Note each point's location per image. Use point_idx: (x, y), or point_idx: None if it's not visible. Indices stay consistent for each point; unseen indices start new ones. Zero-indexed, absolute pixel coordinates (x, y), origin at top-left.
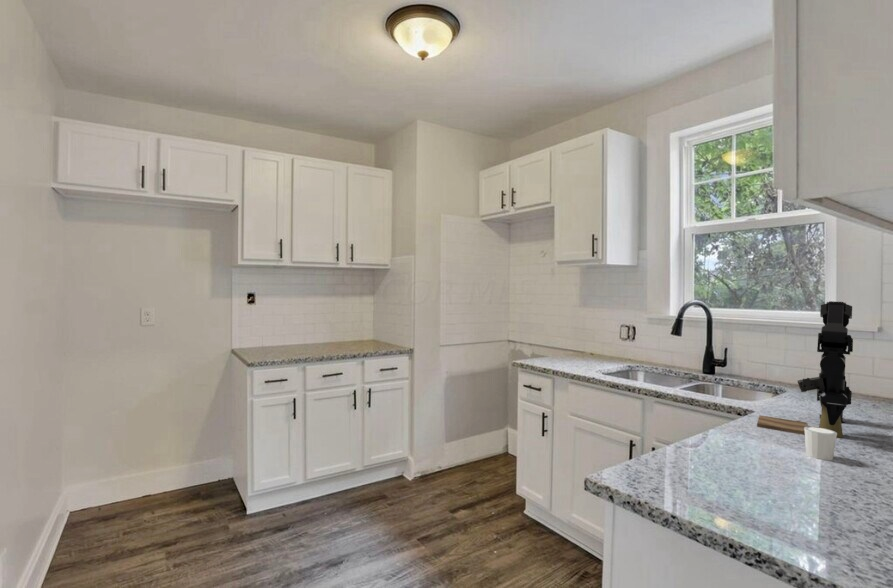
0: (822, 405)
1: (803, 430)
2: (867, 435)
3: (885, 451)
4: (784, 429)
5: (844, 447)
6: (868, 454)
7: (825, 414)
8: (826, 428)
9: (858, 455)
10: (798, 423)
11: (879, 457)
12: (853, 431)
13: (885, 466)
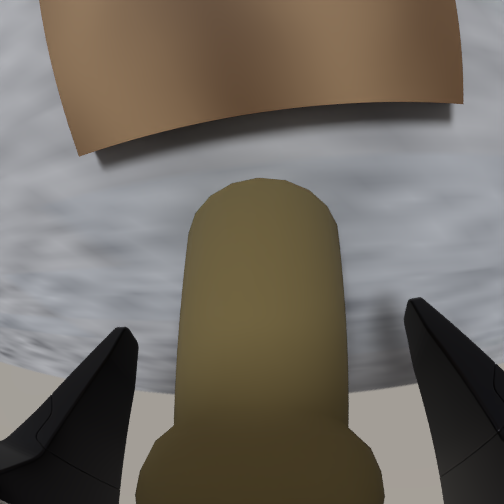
0: (162, 461)
1: (87, 120)
2: (402, 356)
3: (158, 392)
4: (49, 9)
5: (54, 309)
6: (59, 356)
7: (181, 368)
8: (184, 272)
9: (19, 334)
10: (366, 29)
11: (64, 371)
12: (451, 316)
13: (11, 364)
